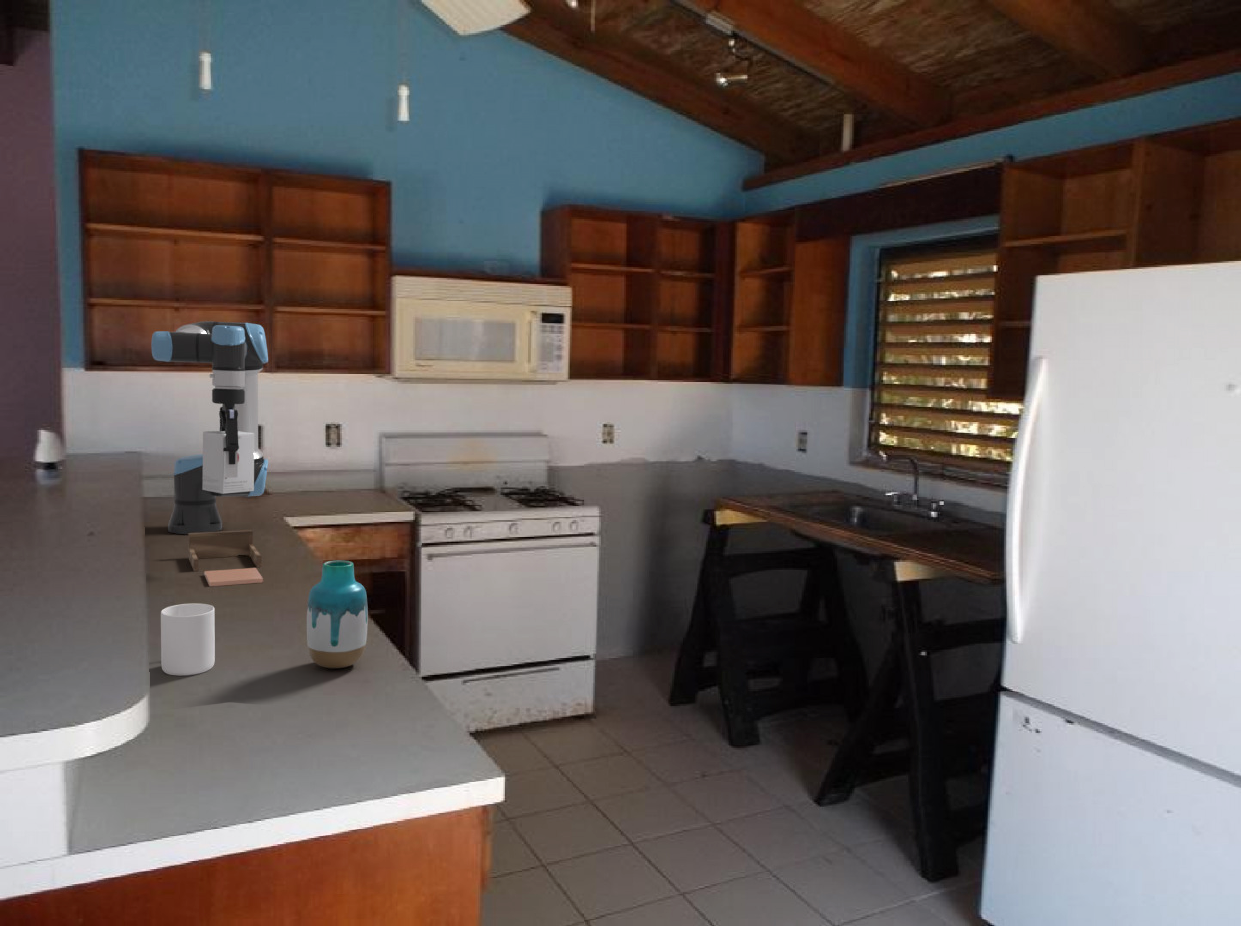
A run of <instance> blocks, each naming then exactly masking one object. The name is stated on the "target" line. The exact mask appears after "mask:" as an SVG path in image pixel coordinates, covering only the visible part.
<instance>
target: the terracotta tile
mask: <svg viewBox="0 0 1241 926" xmlns="http://www.w3.org/2000/svg"><path fill="white" fill-rule="evenodd" d="M204 577H205V579H206V582H207V584H208V586H209V587H220V586H235V585H245V584H246V585H248V584H259V583H261V584H262V583H264V578H263V576H262V574H261V573H260V572H259V570H258V568H257V567H249V568H234V569H233V568H232V569H218V570H204Z"/></svg>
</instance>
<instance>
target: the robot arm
mask: <svg viewBox="0 0 1241 926" xmlns="http://www.w3.org/2000/svg"><path fill="white" fill-rule="evenodd" d="M151 336H152V337H151V354H152V355H151V356H152V358H153V360H155V361H158V362H166V363H169V362H171V363H173V362H178V363H203V364H204V363H207V364H211V365H212V366H211V367H212V368H211V369H212V370H211V371H212V373H210V374H209V378H212V380H211V381H212V384H211V385H212V386H213V387H214V388H212V390H211V402H212V403H213V404H217V405H218V404H219V405H222V406H220V408H219V411H218V412H219V413H218V415H219V431H225V434H226V448H223V451H225V477H226V478H238V451H237V450H238V449H239V446H238V431H240V432H249V433H254V491H248V492H237V493H225V494H221V493H217V492H212V491H206V490H203V453H201V454H195V455H188V456H182V457H179V458H178V459H176V460H175V462H174V468H173V478H174V480H173V481H174V482H173V485H174V486H173V491H174V492H173V495H174V506H173V510H172V512H171V515H170V519H169V520H168V524H167V525H168V526H167V530H168V532H169V533H172V534H177V535H188V533H201V532H221V531H222V530H223V522H222V521H223V520H222V518H221V515H220V513H219V510H218V507H217V497H247V498H250V497H256V496H257V497H259V496H262V495H263V494H264V492H265V487H266V480H267V474H268V466H269V460H268V459H267V458H264V453H263V451H261V450H260V448H259V396H258V395H259V392H258V391H259V379H258V378H259V376H258V375H259V373H260V372H261V371H262V370H263V369H264V364H266V363H268V362H269V356H268V355H269V354H268V347H267V339H266V338H267V337H266V332H265V329H264V327H263V326H262V325H261V324H256V323H250V322H240V321H239V322H237V321H236V322H235V321H214V320H211V321H209V320H207V321H198V322H193V323H188V324H183V325H181V326H179V327H178V328H177V329H176V330H175V331H166V330H165V331H160V330H159V331H153V333H152V335H151Z"/></svg>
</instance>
